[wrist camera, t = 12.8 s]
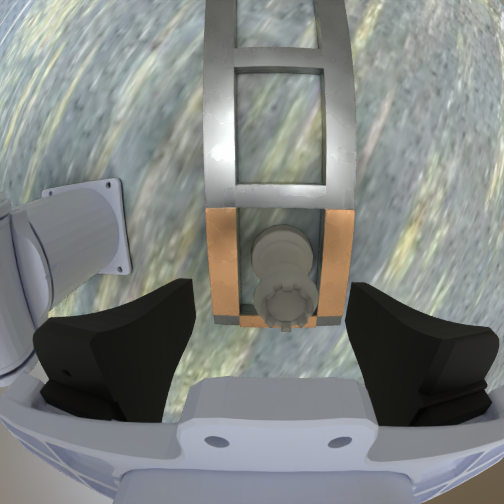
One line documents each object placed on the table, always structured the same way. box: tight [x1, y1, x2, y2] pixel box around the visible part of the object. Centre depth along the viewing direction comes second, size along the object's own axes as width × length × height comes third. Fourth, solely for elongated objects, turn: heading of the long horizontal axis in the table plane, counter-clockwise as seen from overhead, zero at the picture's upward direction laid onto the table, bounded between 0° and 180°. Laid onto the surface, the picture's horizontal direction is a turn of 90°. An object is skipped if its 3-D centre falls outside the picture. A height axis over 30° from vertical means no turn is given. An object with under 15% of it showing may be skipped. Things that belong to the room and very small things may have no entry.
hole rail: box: [203, 0, 356, 328], centre depth 16 cm, size 10×29×2 cm, turn 1°
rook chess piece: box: [251, 225, 319, 332], centre depth 16 cm, size 4×4×8 cm
